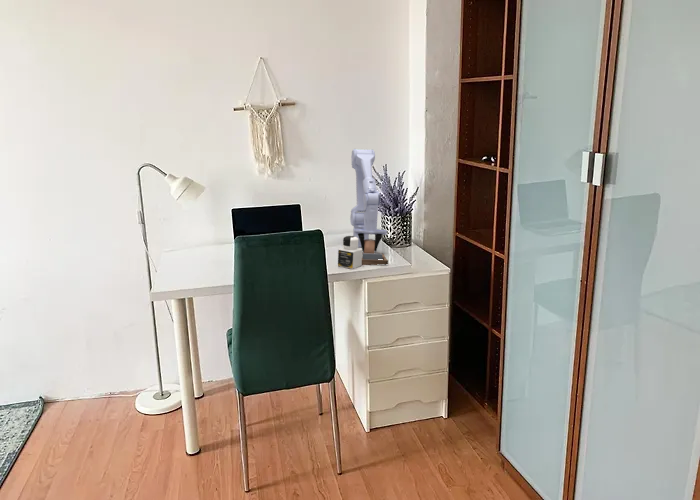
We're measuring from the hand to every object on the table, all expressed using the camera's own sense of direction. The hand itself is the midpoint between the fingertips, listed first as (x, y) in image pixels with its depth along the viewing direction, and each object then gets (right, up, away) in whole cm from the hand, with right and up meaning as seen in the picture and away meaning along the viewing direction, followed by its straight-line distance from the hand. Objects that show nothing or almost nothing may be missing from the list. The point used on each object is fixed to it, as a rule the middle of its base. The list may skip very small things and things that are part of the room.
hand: (369, 250), depth 257 cm
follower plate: (+1, -4, -10) cm, 11 cm away
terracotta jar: (0, -1, 0) cm, 1 cm away
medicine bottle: (-9, -6, -21) cm, 23 cm away
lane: (+1, -4, -11) cm, 12 cm away
